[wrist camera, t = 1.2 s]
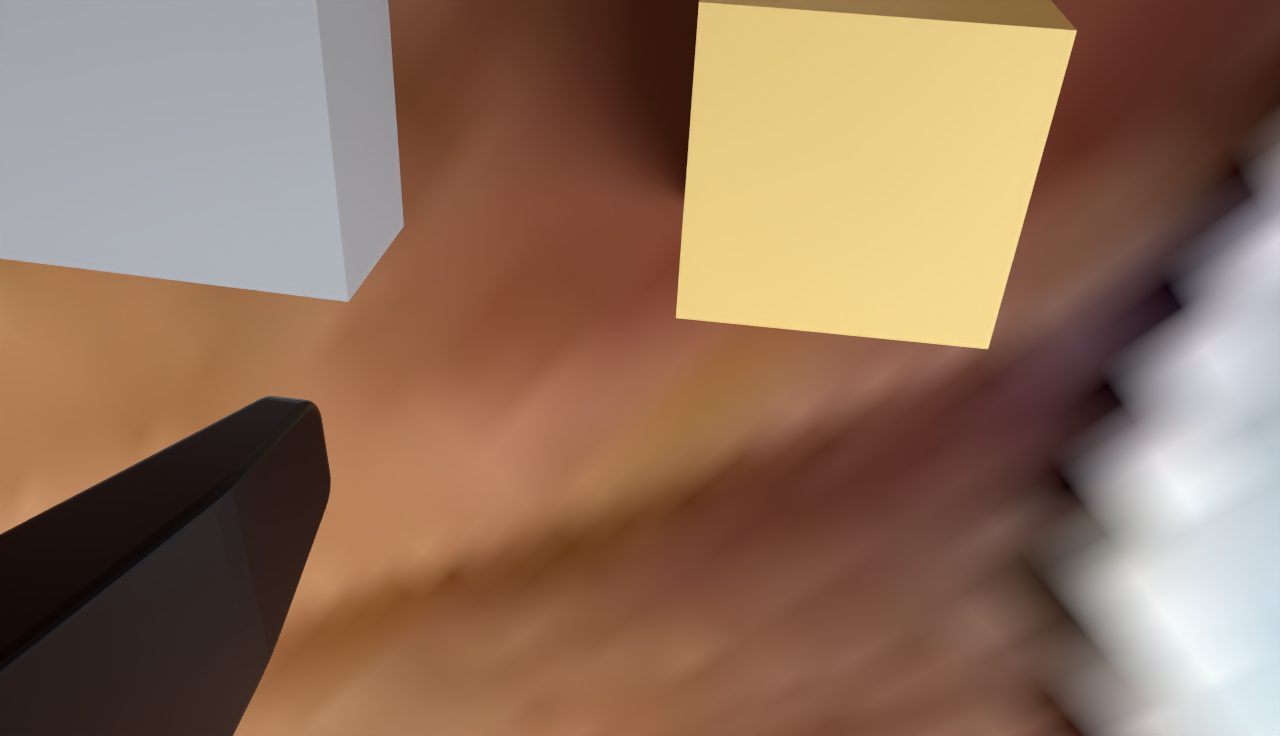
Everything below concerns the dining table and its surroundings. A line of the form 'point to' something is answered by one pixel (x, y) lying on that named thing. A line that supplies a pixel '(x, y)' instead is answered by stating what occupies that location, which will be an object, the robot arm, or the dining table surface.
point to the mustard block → (865, 162)
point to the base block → (201, 140)
